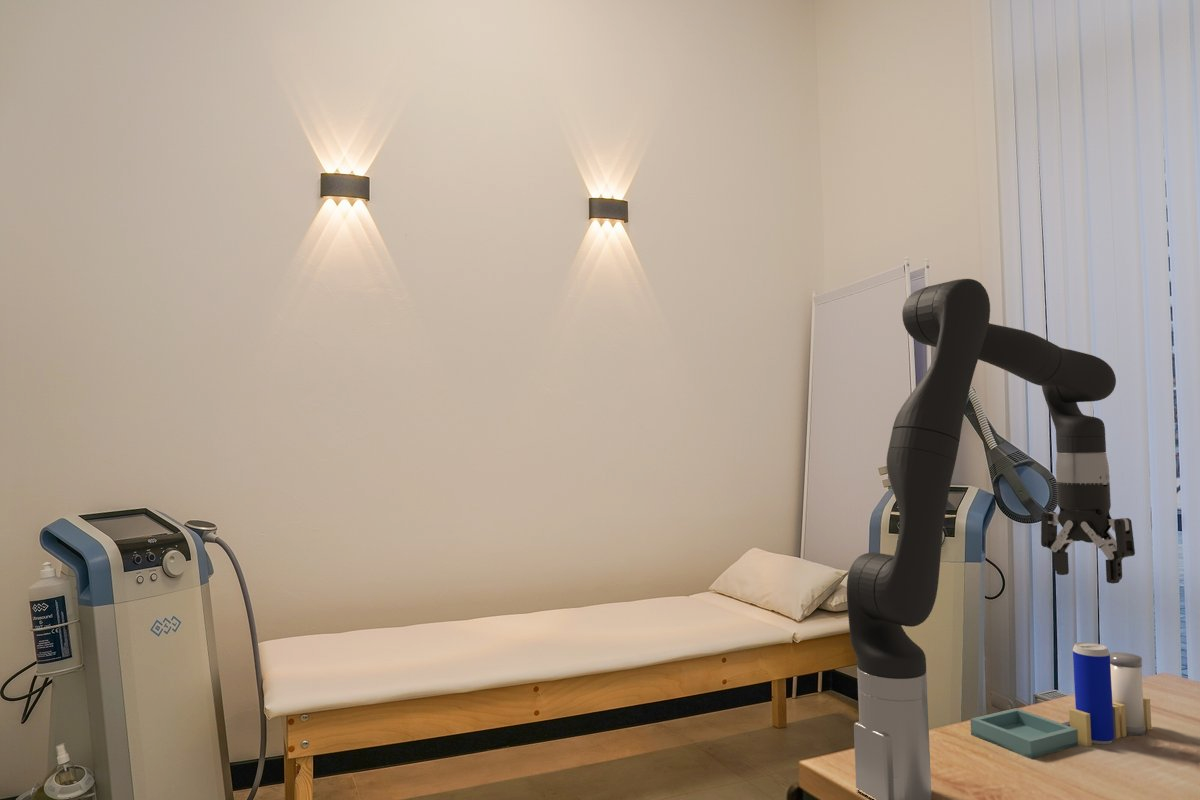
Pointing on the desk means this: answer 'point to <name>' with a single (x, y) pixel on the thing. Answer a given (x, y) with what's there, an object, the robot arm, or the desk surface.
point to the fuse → (1128, 689)
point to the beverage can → (1094, 689)
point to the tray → (1024, 732)
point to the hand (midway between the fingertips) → (1087, 578)
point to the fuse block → (1083, 725)
